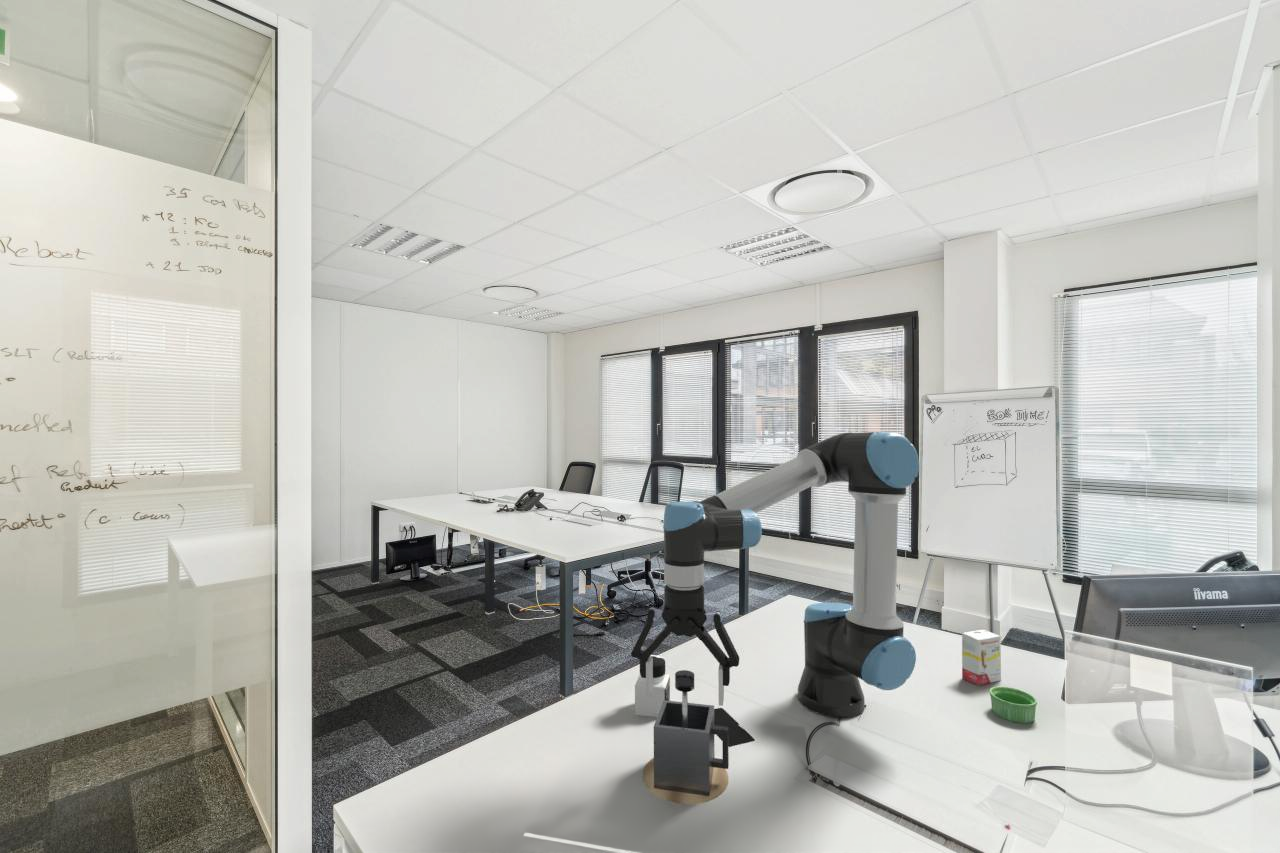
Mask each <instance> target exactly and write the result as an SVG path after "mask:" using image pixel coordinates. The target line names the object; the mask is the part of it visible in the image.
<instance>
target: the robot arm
mask: <svg viewBox="0 0 1280 853" xmlns="http://www.w3.org/2000/svg"><path fill="white" fill-rule="evenodd" d="M919 472H920V458H919V455H918V452H917V449H916V448H915V446H914V444H912V443H911V442H910V440H909V438H907V437H906V436H904V435H902V434H900V433H896V432H887V431H882V430H881V431H870V432H867V431H865V432H843V433H839V434H835V435H832V436H830V437H827V438H826V439H823V440H821V441H819V442H817V443H814V444H812V445H810V446H808V447H806V448H803V449H802V450H800V451H798V453H797V455H796V457H795V458H793V459H790V460H788V461H786V462H783V463H782V464H779V465H777V466H775V467H773V468H771V469H768V470H767V471H764V472H762V473H760V474H758V475H755V476H753V477H751V478H749V479H746V480H745V481H742V482H740V483H738V484H735V485H733V486H731V487H730V488H728V489H725V490H723V491H721V492H719V493H717V494H715V495H712V496H709V497H708V498H707V497H706V498H705V499H703V500H700V501H699V500H698V501H697V500H693V501H675V502H674V501H673V502H669V503H668V504H666V505H665V507H664V515H663V526H662V529H663V546H664V548H663V550H664V551H663V552H664V557H663V559H664V562H663V567H664V568H663V578H664V579H663V581H664V584H666V585H665V586H664V588H663V589H664V592H663V593H664V594H663V595H664V596H663V598H664V599H663V600H664V601H663V602H664V604H663V605H664V608H663V609H658V608H656V607H655V606H651V607H650V608H649V610H648V611H647V616H646V622H645V625H644V626H643V629H642V630H641V632H640V634H639V637H637V638H638V639H637V640H636V642H635V645H634V647H633V648H632V651H631V652H630V656H631V657H632V658H634V659H635V658H636V659H638V660H639V662H640V661H641V677H642V678H646V698H650V697H651V695H652V692H653V657H650V655H653V654H654V652H655V651H656V650H657V649H658V648H659V647H660V645H661V644H662V643H663V641H665V640H666V638H668V637H669V635H671V633H673V634H674V635H675V636H677V637H678V636H679V637H681V636H685V637H689V638H692V637H693V636H696V637H697V638H698V640H700V641H701V642H702V643H703V645H704V646H705V647H706V648H707V650H708V651H709V652H710V653H711V655H712V656H713V657H714V658H715V660H716V661H717V662H718V664H719V665H718V672H717V673H718V676H717V677H718V678H717V680H718V706H721V707H722V706H724V700H725V693H724V692H725V691H724V690H725V687H728V686H729V685H730V681H731V677H730V676H731V674H730V673H731V670H730V669H731V668H732V667H736V668H737V667H738V666H739V665H740V656H739V654H738V652H737V649H736V647H735V646H734V642H732V639H731V637H730V636H729V633H728V631H727V629H726V627H725V625H724V623H723V619H722V618H723V617H722V612H721V611H720V610H716V611H715V612H706V609H705V587H704V586H703V585H704V583H705V552H717V551H718V552H719V551H729V550H744V549H748V548H749V549H750V548H754V547H756V546H758V544H759V543H760V541H761V539H762V533H763V532H762V523H761V519H760V518H759V516H758V514H757V513H759V512H762V511H763V510H765V509H767V508H769V507H772V506H774V505H775V504H778V503H780V502H782V501H785V500H786V499H788V498H791V497H792V496H794V495H796V494H798V493H800V492H803V491H805V490H806V489H809V488H810V487H815V488H820V487H823V486H825V485H827V484H831V483H841V482H842V483H843V482H844V483H845V482H847V484H848V488H847V492H848V493H849V494H850V496H852V498H853V499H854V500H855V501H854V542H853V544H854V545H853V549H854V550H853V551H854V552H853V584H852V585H853V589H852V590H853V593H852V594H853V596H852V605H851V604H848V603H843V602H818V603H816V602H815V603H812V604H809V605H808V606H807V607H806V608H805V609H804V616H803V617H804V618H803V627H804V628H803V629H804V632H803V633H804V634H803V635H804V637H803V638H804V668H803V671H802V673H801V674H802V675H801V678H800V679H799V683H798V686H797V700H798V701H799V704H801V705H802V706H803V707H805V709H807V710H809V711H812V712H814V713H816V714H818V715H822V716H827V717H833V718H851V717H854V716H858V715H860V714H862V713H863V712H864V710H865V708H864V706H865V701H866V700H865V695H864V692H863V688H862V686H861V683H860V680H862V681H863V682H864V683H866V684H867V685H870V686H872V687H875V688H876V689H879V690H882V691H894V690H896V689H898V688H900V687H902V686H903V685H904V684H905V683H906V682H907V680H909V679H910V677H911V676H912V674H913V672H914V669H915V668H916V663H917V654H916V650H915V647H914V645H912V642H911V641H910V640H909V639H908V638H906V637H904V621H902V619H901V618H900V617H899V616H898V615H897V577H898V576H897V573H898V571H897V569H898V566H897V565H898V561H897V560H898V515H899V503H900V502H901V500H903V499H904V498H905V497H906V496H907V487H910V486H911V485H913V483H914V482H916V480H915V478H917V477H918V476H919ZM659 618H662V619H663V621H664V622H665V626H664V627H663V629H662V630H661V631H660V632H659V633H658V634H657V636H656V637H655V638H654V639H653V640H652V642H650V643H649V645H648V646H647V647H646V648H645V649H642V647H643V645H644V643H645V641H646V639H647V637H648V635H649V633H650V631H651V629H652V627H653V625H654V623H655V622H657V621H658V620H659ZM707 621H709V623H710V624H711V626H714V629H715V631H716V633H717V636H718V638H719V640H720V642H721V644H722V646H723V648H724V650H725V652H726V653H725V652H724V651H723V650H722V648H721V647H720V646H719V645H718V643H717V642H716V640H715V639H713V637H712V636H711V635H710V633H709V632H708V630H707V628H706V627H705V626H704V624H705V623H706V622H707ZM859 679H860V680H859Z"/></svg>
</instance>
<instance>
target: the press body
mask: <svg viewBox="0 0 1280 853" xmlns="http://www.w3.org/2000/svg"><path fill="white" fill-rule="evenodd" d="M714 709H715V705H711V704H701V703H695V702H694V703H693V702H688V728H682V701H675V700H674V701H673V700H670V701H667V700H664V701H663V703H662V706H661V708H660V711H659V714H658V716H657V717H656V719H655V723H654V725H653V758H654V788H656V789H663V790H669V791H676V792H683V793H690V794H697V795H704V796H710V790H711V783H712V776H713V770H714V767H716V768H723V769H726V770H729V759H730V758H729V747H728V727H723V726H715V725H714ZM715 735H716V736H717V735H722V740H721V742H722V758H717V757H715Z"/></svg>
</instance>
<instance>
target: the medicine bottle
mask: <svg viewBox="0 0 1280 853" xmlns="http://www.w3.org/2000/svg"><path fill="white" fill-rule="evenodd" d="M650 657H653V692H652V695H651V697H650V698H646V678H642V677H641V661H640V660H639V675H638V678H637V680H636V682H635V685H634V715H635V716H645V717H656V718H657V716H658V714H659V711H660V708H661V706H662V703H663V701H664V700H667V701H671V699H670V698H671V694H670V693H671V688H670V686H671V685H670V684H671V682H670V681H671V679H670V678H671V677H670V674H667V673H666V660H665V659H664V658H663V657H662V656H659V655H656V654H654V655H653V654H651V655H650Z"/></svg>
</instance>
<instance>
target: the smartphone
mask: <svg viewBox="0 0 1280 853" xmlns="http://www.w3.org/2000/svg"><path fill="white" fill-rule="evenodd" d="M714 725H715V726H723V727H728V748H730V747H734V746H739V745H743V744H747V743H751V742H755V741H756V740H755V738H754V737H753V736H752V735H751V734H750V733H749V732H748V731H747V730H746V729H745V728H743V726H741V725H740V723H739V722H738V721H736V719H734V718H733V717H732V716H731V714H729V713H728V712H727V711H726V710H725V709H724V708H723V707H717V708H714ZM716 736H717V737H718V738H719V739H720V740H721V741H722V735H716Z"/></svg>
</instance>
